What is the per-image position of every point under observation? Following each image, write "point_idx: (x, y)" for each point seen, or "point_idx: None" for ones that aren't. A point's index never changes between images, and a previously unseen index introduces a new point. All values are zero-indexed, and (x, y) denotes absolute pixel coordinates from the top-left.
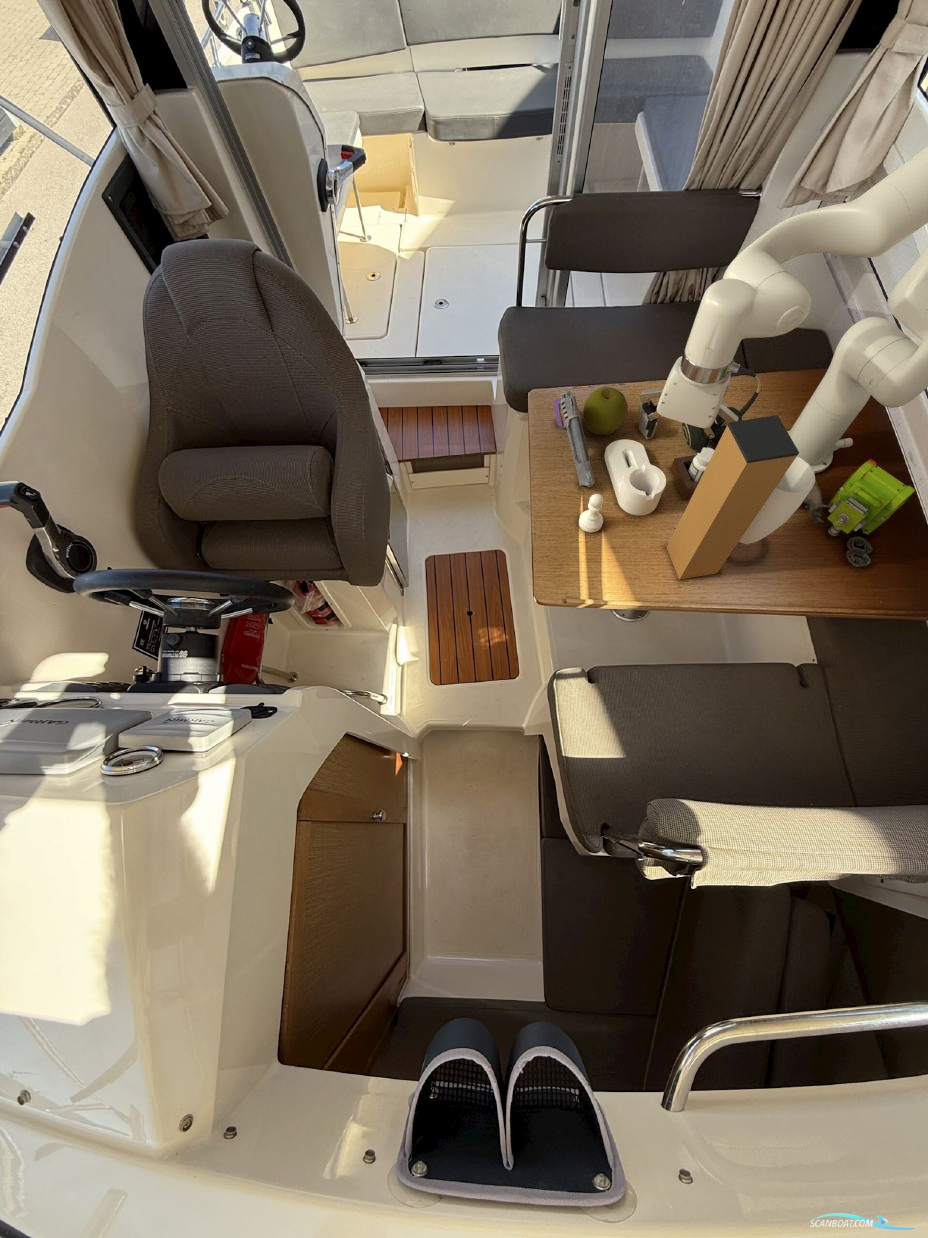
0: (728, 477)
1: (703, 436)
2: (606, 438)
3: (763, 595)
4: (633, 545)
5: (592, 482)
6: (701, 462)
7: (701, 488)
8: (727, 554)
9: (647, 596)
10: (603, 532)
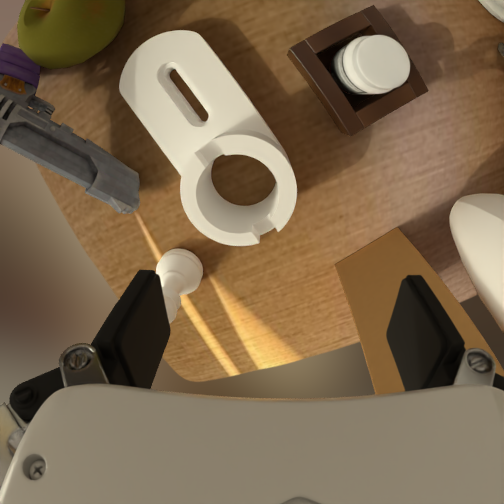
0: None
1: (413, 388)
2: (117, 43)
3: None
4: (274, 282)
5: (134, 206)
6: (373, 87)
7: None
8: None
9: (320, 350)
10: (212, 276)
